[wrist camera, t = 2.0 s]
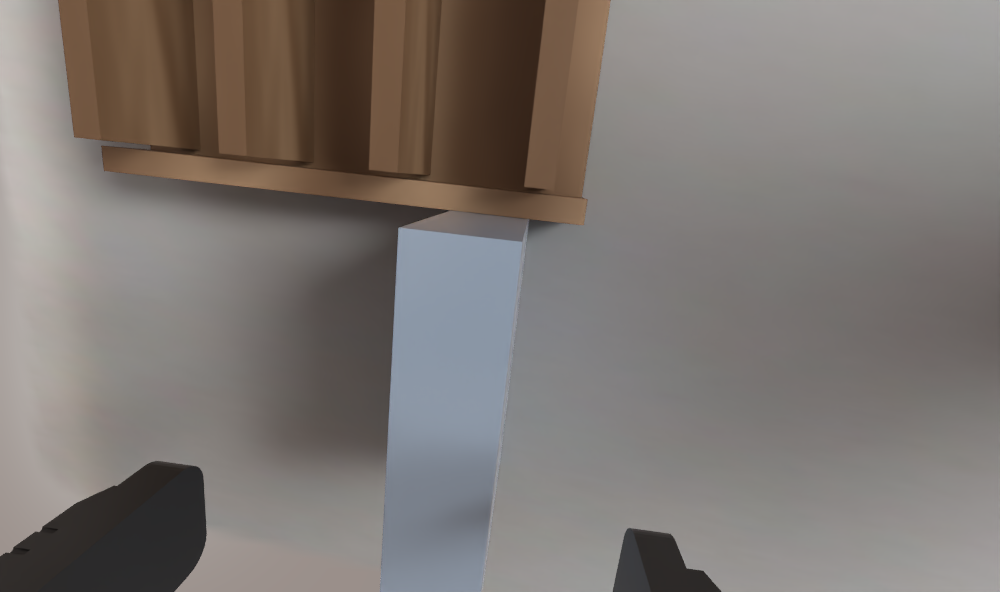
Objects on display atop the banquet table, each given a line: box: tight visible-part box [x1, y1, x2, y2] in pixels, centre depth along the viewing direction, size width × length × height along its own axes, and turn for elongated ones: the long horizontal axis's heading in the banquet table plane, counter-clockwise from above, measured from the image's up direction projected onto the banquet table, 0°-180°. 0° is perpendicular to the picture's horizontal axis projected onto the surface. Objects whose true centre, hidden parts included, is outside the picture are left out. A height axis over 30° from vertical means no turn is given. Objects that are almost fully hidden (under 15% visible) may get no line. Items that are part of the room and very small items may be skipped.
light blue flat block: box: [380, 210, 529, 592], centre depth 15 cm, size 2×11×9 cm, turn 174°
